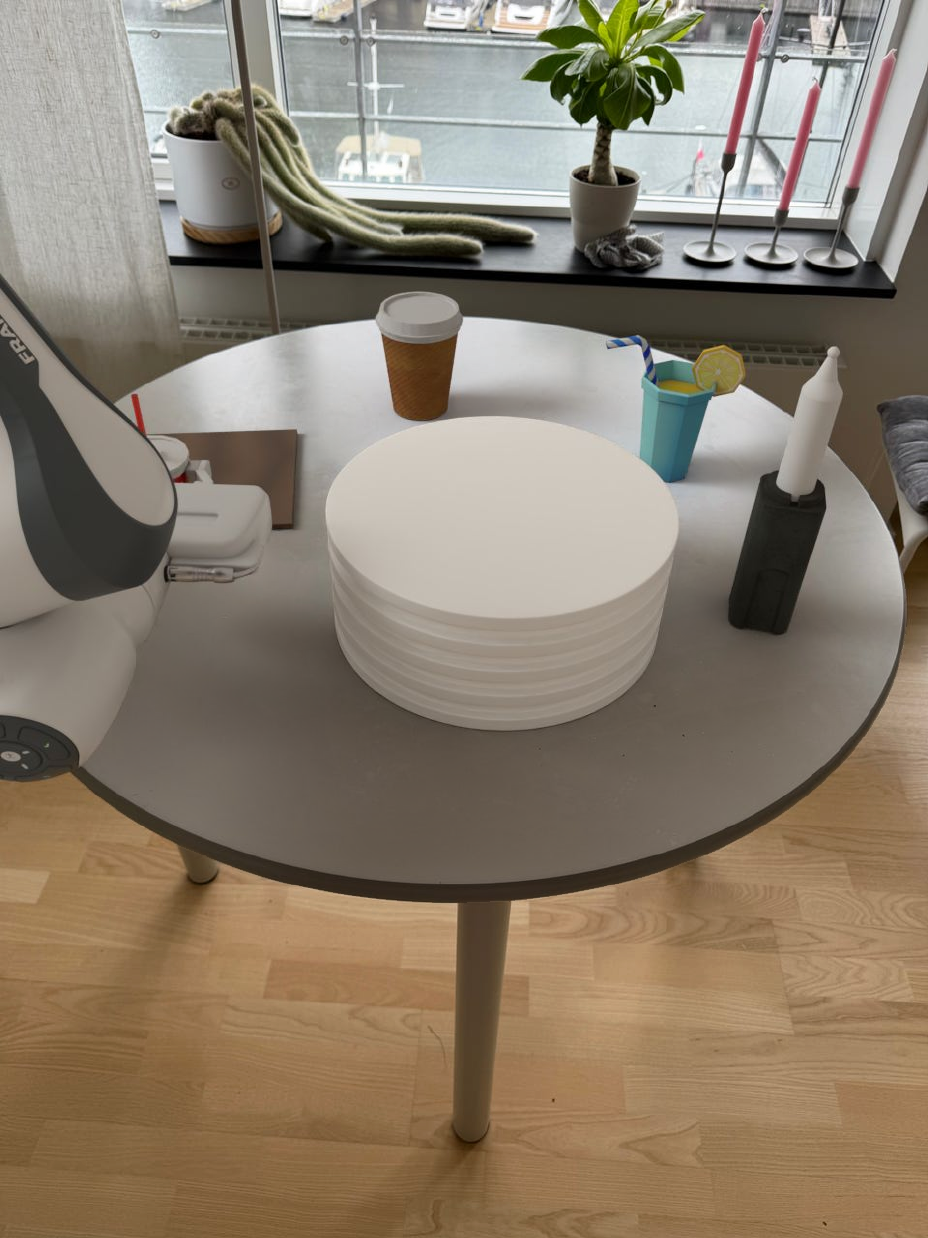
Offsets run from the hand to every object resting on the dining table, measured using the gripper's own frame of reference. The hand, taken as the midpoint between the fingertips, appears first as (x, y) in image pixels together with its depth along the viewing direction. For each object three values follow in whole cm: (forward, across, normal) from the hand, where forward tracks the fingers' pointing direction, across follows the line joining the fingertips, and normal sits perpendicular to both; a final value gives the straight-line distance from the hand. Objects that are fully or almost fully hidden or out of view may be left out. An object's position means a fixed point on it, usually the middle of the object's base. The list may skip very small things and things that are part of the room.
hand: (153, 465), depth 75 cm
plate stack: (0, -27, +14) cm, 31 cm away
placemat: (+20, +2, +14) cm, 25 cm away
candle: (+1, -50, +14) cm, 52 cm away
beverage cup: (-1, 0, +8) cm, 8 cm away
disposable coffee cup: (+37, -19, +14) cm, 44 cm away
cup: (+25, -44, +14) cm, 53 cm away
